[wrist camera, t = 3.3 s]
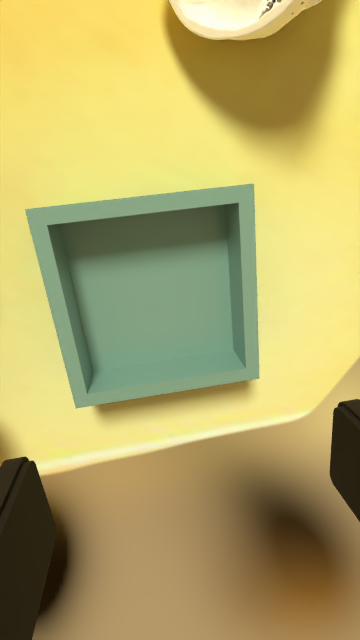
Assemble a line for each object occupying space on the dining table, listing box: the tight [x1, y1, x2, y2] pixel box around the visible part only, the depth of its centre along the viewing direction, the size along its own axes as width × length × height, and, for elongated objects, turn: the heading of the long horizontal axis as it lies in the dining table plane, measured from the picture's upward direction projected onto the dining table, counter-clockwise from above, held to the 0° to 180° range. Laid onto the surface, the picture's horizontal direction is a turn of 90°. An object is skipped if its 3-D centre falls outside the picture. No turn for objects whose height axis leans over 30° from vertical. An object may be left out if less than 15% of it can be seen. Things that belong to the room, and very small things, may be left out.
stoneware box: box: [25, 184, 259, 408], centre depth 29 cm, size 16×16×5 cm
